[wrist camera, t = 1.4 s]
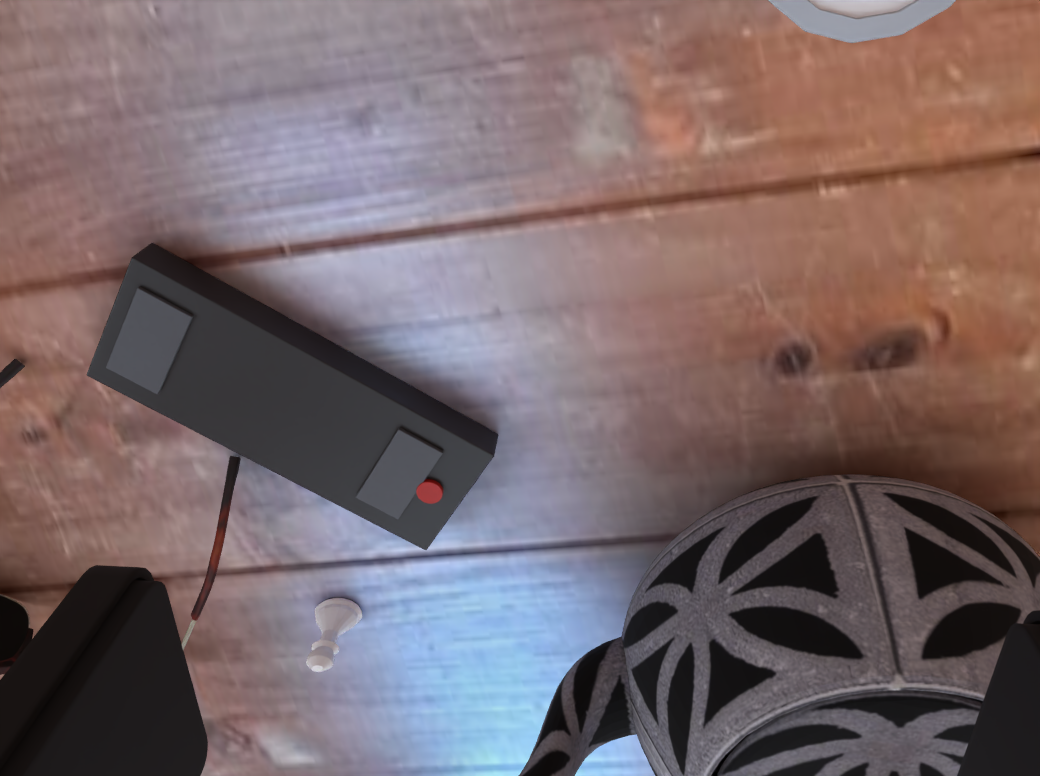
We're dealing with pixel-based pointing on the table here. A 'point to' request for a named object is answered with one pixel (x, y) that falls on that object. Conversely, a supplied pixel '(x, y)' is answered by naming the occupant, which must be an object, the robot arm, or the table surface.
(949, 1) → the white short cylinder
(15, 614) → the sunglasses
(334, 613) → the chess pawn
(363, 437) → the remote
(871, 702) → the teapot
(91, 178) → the table surface
